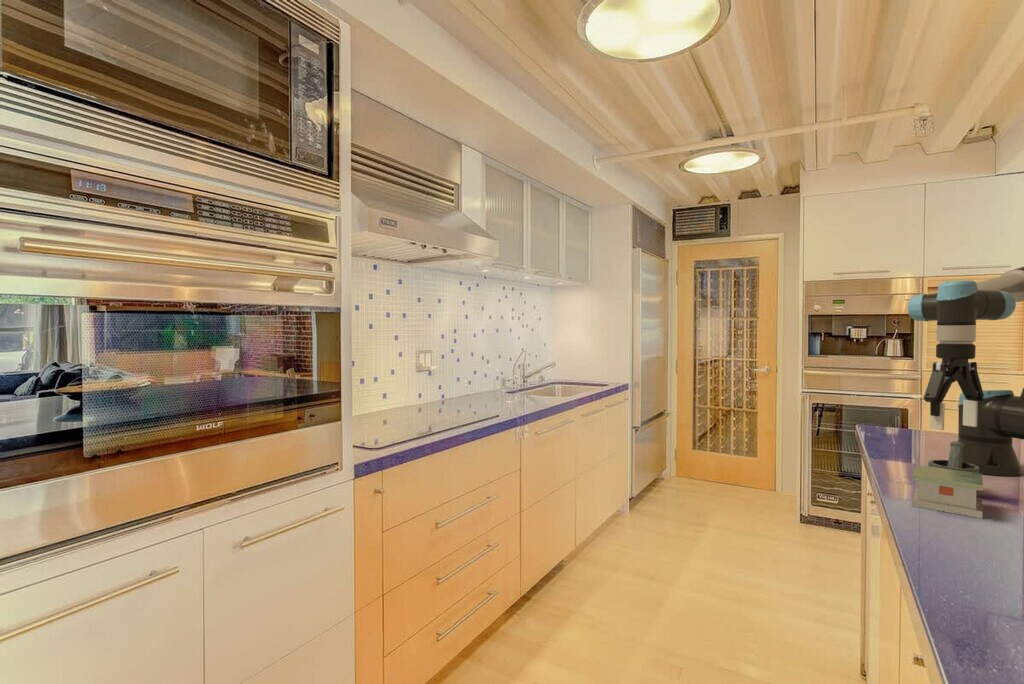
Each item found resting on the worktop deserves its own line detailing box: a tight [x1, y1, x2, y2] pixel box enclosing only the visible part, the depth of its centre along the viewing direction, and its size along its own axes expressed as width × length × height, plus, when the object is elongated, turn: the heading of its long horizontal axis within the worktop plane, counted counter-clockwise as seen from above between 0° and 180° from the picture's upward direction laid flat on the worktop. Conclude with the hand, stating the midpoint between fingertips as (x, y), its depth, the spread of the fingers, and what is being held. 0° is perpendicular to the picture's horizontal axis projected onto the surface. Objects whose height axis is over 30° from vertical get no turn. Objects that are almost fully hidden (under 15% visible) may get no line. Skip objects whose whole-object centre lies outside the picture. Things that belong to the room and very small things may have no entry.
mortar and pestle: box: [927, 440, 979, 473], centre depth 131 cm, size 11×9×12 cm
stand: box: [911, 464, 984, 519], centre depth 120 cm, size 12×12×7 cm
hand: (953, 427), depth 130 cm, fingers open, 13 cm apart
